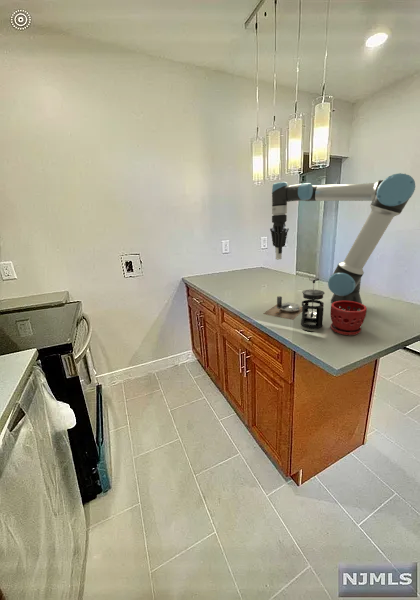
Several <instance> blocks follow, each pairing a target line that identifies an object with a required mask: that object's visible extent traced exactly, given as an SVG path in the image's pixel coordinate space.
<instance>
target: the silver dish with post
mask: <svg viewBox="0 0 420 600" xmlns="http://www.w3.org/2000/svg"><path fill="white" fill-rule="evenodd" d="M282 302H283V297H282V296H279V295H278V296H277V297H276V304H277V308H278V309H280V310H281V311H283V312H287V313H295V312H298V311H299V310H300V307H301V306H300V305H299V304H298V303H294V302H284V303H282Z"/></svg>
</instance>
